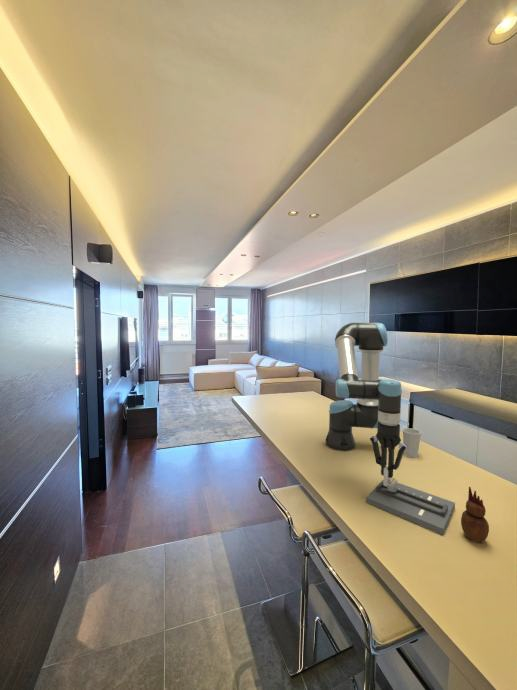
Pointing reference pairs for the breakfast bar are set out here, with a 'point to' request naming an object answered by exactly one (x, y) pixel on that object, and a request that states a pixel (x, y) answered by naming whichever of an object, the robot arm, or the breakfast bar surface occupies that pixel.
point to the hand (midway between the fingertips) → (386, 484)
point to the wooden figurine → (474, 519)
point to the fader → (392, 486)
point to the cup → (411, 442)
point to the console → (414, 506)
